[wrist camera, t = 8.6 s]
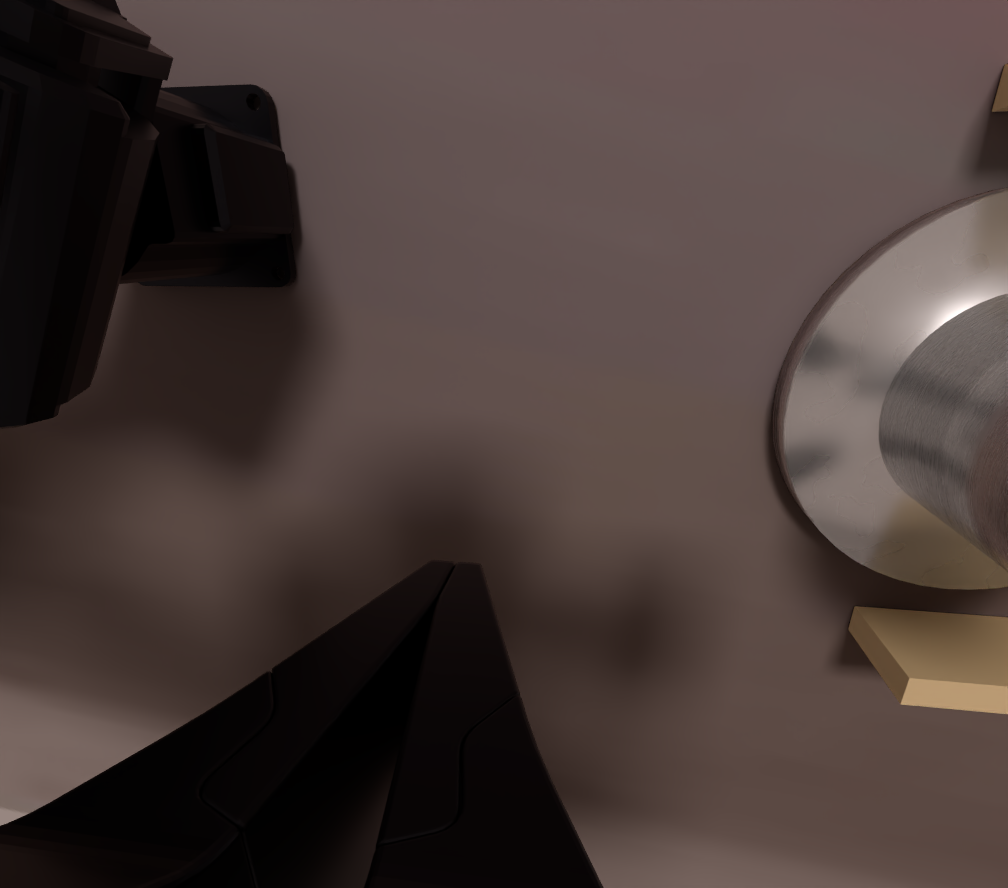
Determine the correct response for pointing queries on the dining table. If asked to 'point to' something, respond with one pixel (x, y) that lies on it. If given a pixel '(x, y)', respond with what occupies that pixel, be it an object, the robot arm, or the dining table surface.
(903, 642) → the tan wooden u-frame
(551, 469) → the dining table surface
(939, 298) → the door knob
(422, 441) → the dining table surface
